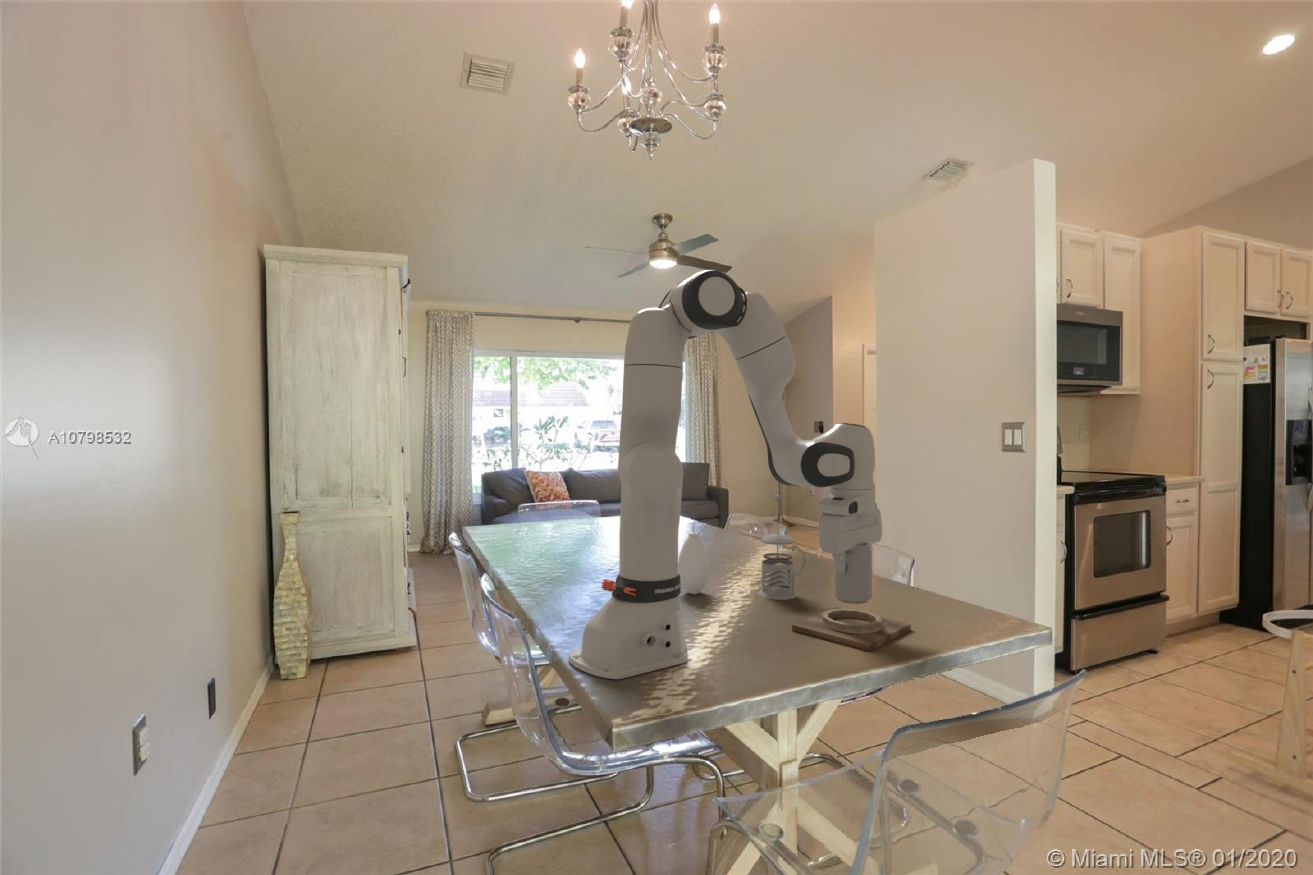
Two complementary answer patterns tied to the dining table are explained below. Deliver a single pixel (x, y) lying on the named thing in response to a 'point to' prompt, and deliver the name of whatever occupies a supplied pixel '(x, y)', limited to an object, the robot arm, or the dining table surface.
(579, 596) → the dining table surface
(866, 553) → the can
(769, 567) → the french press
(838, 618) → the seat board
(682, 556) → the sauce bottle
